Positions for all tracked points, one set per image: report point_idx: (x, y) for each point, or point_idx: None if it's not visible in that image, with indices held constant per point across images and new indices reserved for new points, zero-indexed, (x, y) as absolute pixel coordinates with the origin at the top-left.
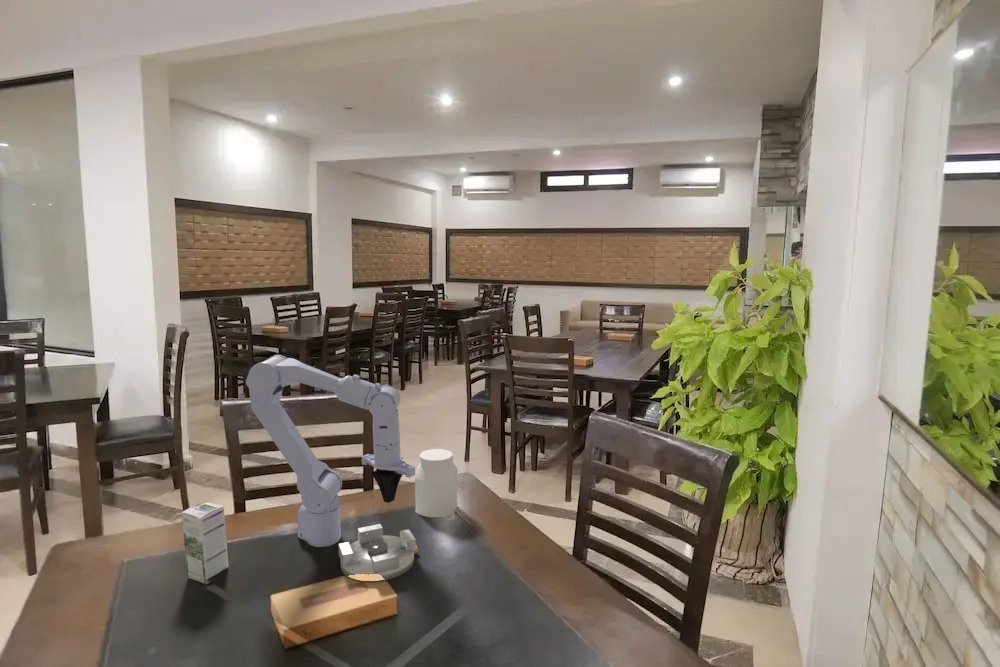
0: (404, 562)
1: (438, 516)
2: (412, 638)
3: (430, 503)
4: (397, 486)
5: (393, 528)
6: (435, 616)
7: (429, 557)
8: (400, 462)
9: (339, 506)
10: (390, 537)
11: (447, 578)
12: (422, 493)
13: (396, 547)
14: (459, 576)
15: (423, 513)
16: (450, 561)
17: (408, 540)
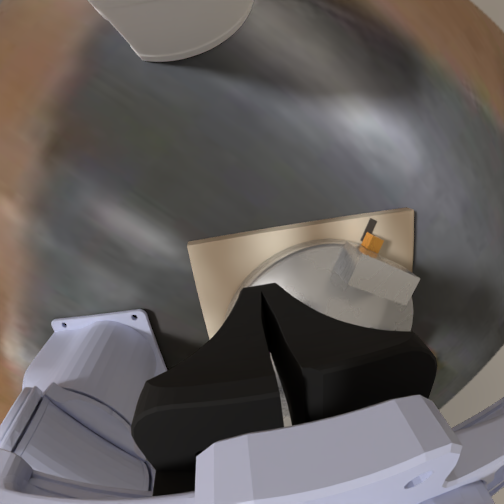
0: (410, 317)
1: (238, 24)
2: (470, 360)
3: (213, 19)
4: (312, 309)
5: (159, 165)
6: (479, 318)
7: (382, 202)
8: (489, 479)
9: (107, 403)
10: (286, 274)
11: (456, 236)
12: (170, 16)
13: (347, 294)
14: (467, 213)
15: (185, 48)
16: (428, 180)
17: (407, 297)
